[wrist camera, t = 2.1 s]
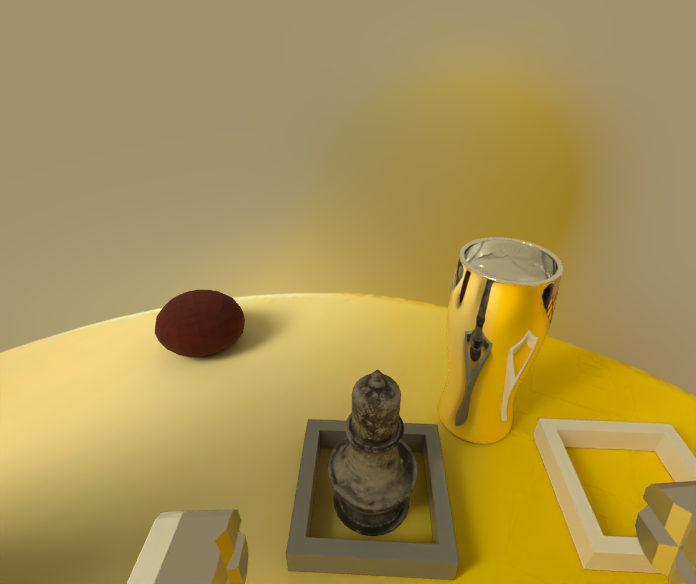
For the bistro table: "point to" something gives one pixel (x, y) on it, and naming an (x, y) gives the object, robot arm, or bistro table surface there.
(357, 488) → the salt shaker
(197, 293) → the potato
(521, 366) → the beer glass
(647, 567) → the pale socket
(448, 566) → the dark socket
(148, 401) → the bistro table surface
